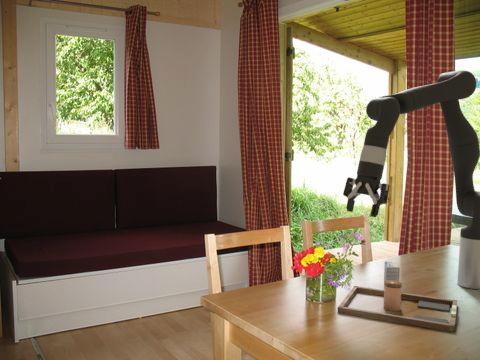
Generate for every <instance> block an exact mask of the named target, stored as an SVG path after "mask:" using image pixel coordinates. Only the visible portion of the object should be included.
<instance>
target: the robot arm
mask: <svg viewBox="0 0 480 360" xmlns="http://www.w3.org/2000/svg"><path fill="white" fill-rule="evenodd" d="M476 89H477V78H476V76H475V74H473V72H470V71H467V70H455V71H448V72H443V73H441V74H440V75H439V76H438V77H437V80H436V83H431V84H425V85H419V86H416V87H412V88H408V89H405V90H402V91H399V92H398V93H397V92H396V93H393V94H388V95H383V96H378V97H375V98H373V99H371V100H370V101H369V102H368V103H367V105H366V109H365V111H366V113H365V114H366V115H367V116H368V119H370V120H372V121H376V123H375V124H374V125H373V126H371V127H369V128H368V129H367V130H366V131H365V132H366V133H365V137H364V141H363V147H362V150H361V152H360V153H361V154H360V157H359V161H358V167H357V171H356V175H357V176H356V178H354V177H347V179H346V182H345V186H344V189H343V196H344V197H346V198H347V203H346V211H347V212H349V213H350V212H351V213H353V211H354V207H355V202H356V200H355V199H356V198H357V197H358V196H361V195H366V196H369V198H371V200H372V203H373V204H372V206H371V211H370V217H371V218H376V217H377V216H378V215H379V211H380V206H381V205H386V204H387V203H388V198H389V191H390V185H389V184H387V183H385V182H384V183H381V180H382V178H383V174H384V168H385V164H386V159H387V149H388V145H389V141H390V136H391V134H392V132H393V131H394V129H395V127H396V125H397V122H398V121H399V117H400V115H405V114H409V113H412V112H416V111H418V110H419V111H420V110H421V109H424V108H427V107H430V106H432V105H436V104H439V105H440V109H441V112H442V115H443V120H444V125H445V129H446V133H447V140H448V146H449V151H450V153H449V154H450V157H451V162H452V167H453V168H452V169H453V174H454V185H455V199H456V201H455V203H456V206H457V210H458V211H459V213H460V214H461V215H463V216H464V217H468V218H471V219H472V220H471V224H470V225H469V226H468V225H467V226H464V227H461V229H460V234H459V251H458V266H457V267H458V269H457V285H458V286H460V287H462V288H467V289H472V290H480V191H478V190H477V191H476V189H475V185H474V177H473V176H474V171H475V169H476V167H477V165H478V163H479V160H480V143H479V137H478V134H477V132H476V130H475V128H474V127H473V126H472V124H471V123H470V122H469V121H468V119H467V118H466V117H465V115H464V113H463V111H462V109H461V105H460V100H465V99H467V98H470V97H471V96H472V95H473V94H474V93H475V91H476ZM354 185H355V187H354ZM353 187H354V188H353ZM378 190H379V191H380V194H379V191H378Z"/></svg>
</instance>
